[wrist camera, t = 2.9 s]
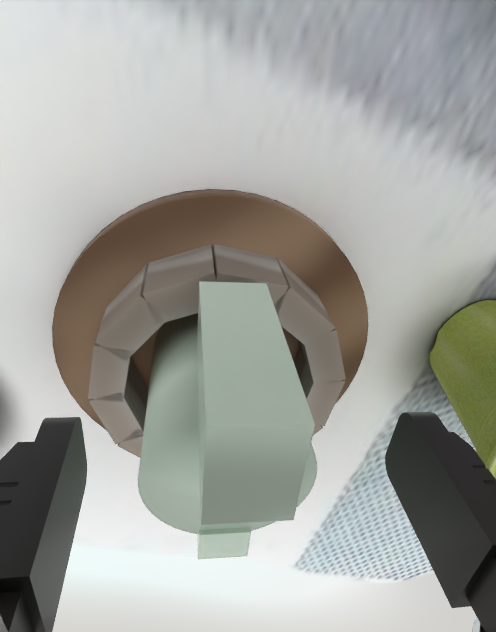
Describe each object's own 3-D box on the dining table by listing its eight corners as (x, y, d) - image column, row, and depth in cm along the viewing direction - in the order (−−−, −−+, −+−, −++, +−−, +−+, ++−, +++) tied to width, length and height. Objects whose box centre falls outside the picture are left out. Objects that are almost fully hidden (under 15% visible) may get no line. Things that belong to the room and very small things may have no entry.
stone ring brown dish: (415, 325, 24) (454, 371, 21) (222, 478, 29) (226, 537, 26) (205, 106, 17) (209, 119, 14) (-5, 352, 22) (-42, 409, 19)
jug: (268, 413, 25) (319, 644, 15) (155, 416, 24) (132, 662, 14) (294, 240, 20) (399, 422, 10) (150, 234, 19) (109, 428, 9)
